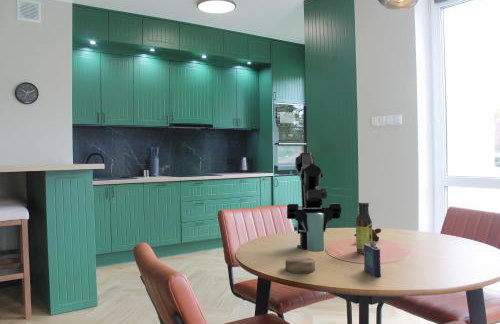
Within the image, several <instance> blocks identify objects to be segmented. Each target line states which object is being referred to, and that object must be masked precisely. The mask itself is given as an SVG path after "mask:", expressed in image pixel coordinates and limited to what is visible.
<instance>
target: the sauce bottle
mask: <svg viewBox="0 0 500 324" xmlns="http://www.w3.org/2000/svg"><path fill="white" fill-rule="evenodd" d="M357 204H358V205H357V206H358V215H357V217H356V219H355V234H356V236H355V238H356V239H355V241H356V242H355V243H356V244H355V245H356V246H355V247H356V252H357V253H359V254H364V244H370V242H369V241H372V229H373V222H372V219H371V216H370V212H369V207H370V205H369V204H370V203H369V202H367V201H360V202H358V203H357Z"/></svg>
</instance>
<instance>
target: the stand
mask: <svg viewBox="0 0 500 324" xmlns="http://www.w3.org/2000/svg"><path fill="white" fill-rule="evenodd" d="M284 263H285V271H286V272H288V273H289V274H294V275H295V274H297V275H306V274H312V273H314V272H315V270H316V261H315V259H314V258H310V257H305V256H304V257H303V256H294V257H290V258H287V259H285V262H284Z"/></svg>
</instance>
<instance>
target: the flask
mask: <svg viewBox="0 0 500 324" xmlns="http://www.w3.org/2000/svg"><path fill="white" fill-rule="evenodd" d="M376 241H377V240H374V241H369V242H370V244H364V253H363V270H364V271H365V272H367V274H370V275H371V276H372V277H373V278H381V277H382V271H381V270H382V269H381V249H380V248H379V247H378V246H377V245H376V244H375V243H376Z"/></svg>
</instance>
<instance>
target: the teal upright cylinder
mask: <svg viewBox="0 0 500 324" xmlns="http://www.w3.org/2000/svg"><path fill="white" fill-rule="evenodd" d="M306 250H307V251H308V252H312V253H313V252H314V253H318V252H319V253H320V252H321V253H322V252H324V251H325V232H324V213H321V212H309V213H307V249H306Z"/></svg>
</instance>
